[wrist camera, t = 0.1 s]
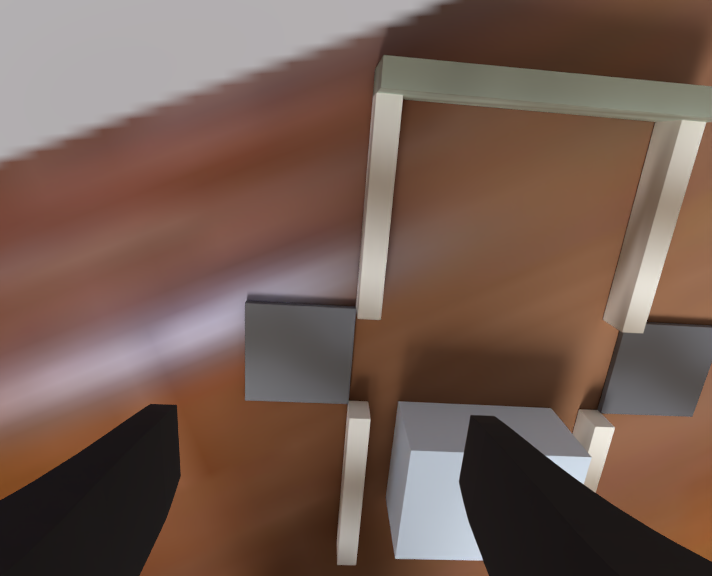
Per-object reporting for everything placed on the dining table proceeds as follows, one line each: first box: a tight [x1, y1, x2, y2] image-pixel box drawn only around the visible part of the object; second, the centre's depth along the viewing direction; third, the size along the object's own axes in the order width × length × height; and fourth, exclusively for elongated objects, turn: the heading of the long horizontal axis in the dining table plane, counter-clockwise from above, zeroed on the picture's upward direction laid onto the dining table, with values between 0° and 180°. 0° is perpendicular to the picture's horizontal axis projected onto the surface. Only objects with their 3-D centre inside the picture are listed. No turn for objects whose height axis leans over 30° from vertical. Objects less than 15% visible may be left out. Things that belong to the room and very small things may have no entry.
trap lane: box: [245, 55, 712, 565], centre depth 20 cm, size 24×23×3 cm
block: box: [386, 401, 592, 560], centre depth 22 cm, size 6×8×4 cm
